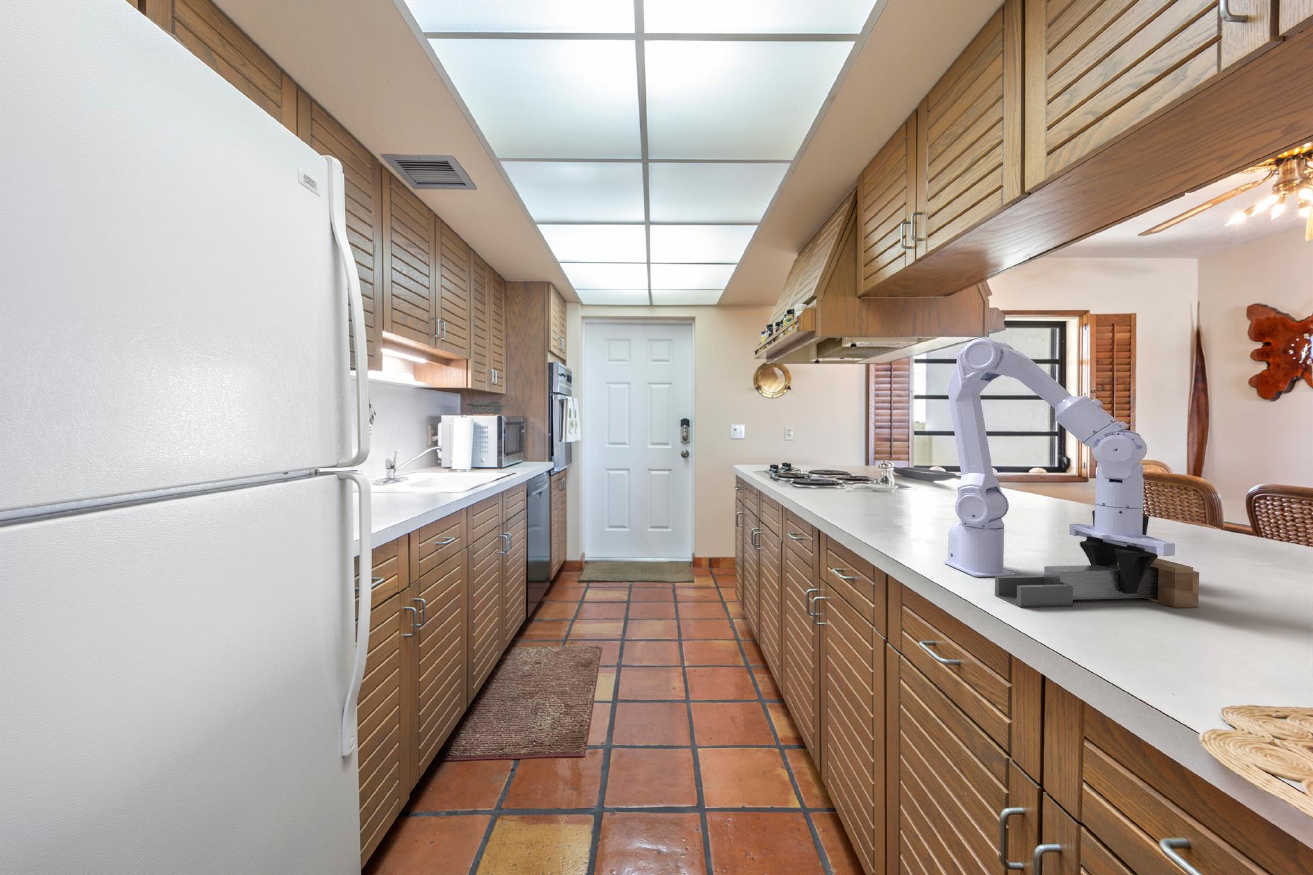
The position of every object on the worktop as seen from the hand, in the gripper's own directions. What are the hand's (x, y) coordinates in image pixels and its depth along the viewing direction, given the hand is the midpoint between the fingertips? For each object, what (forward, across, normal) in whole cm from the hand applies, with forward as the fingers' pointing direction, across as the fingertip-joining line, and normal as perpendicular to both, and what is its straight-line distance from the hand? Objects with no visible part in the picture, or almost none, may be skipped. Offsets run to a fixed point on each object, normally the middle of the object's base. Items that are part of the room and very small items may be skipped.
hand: (1116, 588), depth 82 cm
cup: (+2, -9, +12) cm, 15 cm away
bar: (+2, 0, -2) cm, 3 cm away
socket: (+2, +1, +7) cm, 7 cm away
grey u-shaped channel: (+2, -1, -14) cm, 14 cm away
